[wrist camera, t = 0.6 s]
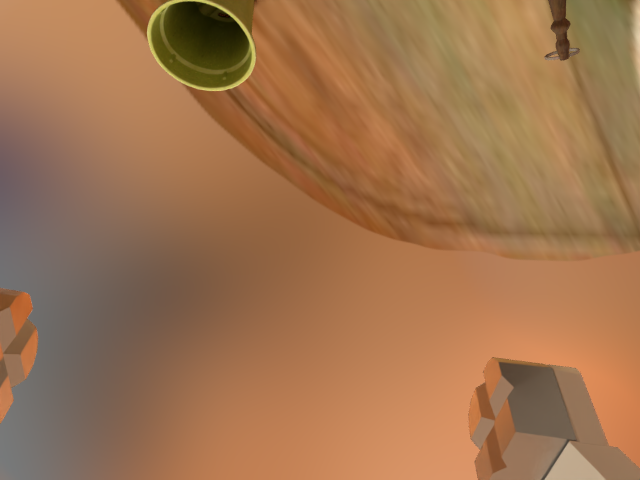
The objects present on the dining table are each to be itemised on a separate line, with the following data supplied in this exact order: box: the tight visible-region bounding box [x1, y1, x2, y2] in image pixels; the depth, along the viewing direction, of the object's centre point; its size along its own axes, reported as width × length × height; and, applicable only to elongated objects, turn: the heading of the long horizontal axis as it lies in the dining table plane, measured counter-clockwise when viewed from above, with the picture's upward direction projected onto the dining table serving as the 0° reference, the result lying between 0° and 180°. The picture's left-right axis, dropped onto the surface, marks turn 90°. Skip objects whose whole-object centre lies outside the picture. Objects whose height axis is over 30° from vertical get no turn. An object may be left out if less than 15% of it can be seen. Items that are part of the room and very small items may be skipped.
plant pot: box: [147, 0, 256, 91], centre depth 55 cm, size 9×9×9 cm
